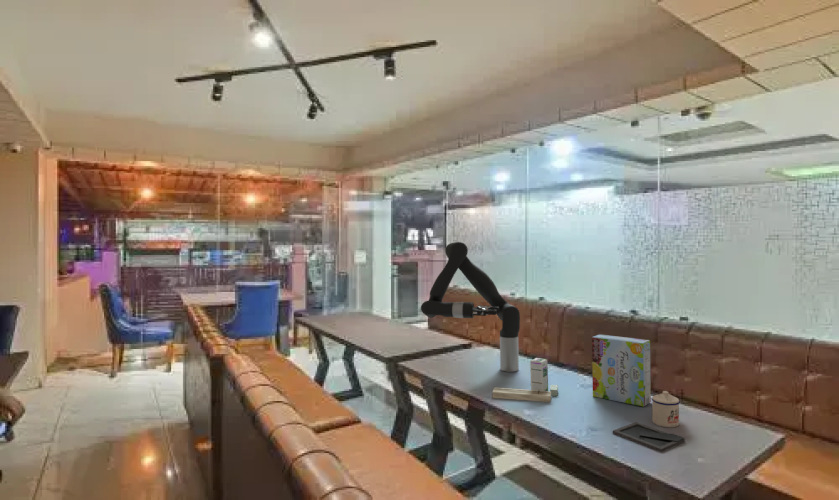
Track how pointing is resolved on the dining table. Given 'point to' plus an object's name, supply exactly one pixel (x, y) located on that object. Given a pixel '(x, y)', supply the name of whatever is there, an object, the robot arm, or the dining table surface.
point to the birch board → (522, 394)
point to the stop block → (554, 390)
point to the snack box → (621, 369)
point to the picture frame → (649, 436)
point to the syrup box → (539, 374)
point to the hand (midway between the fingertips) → (497, 310)
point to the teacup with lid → (665, 410)
